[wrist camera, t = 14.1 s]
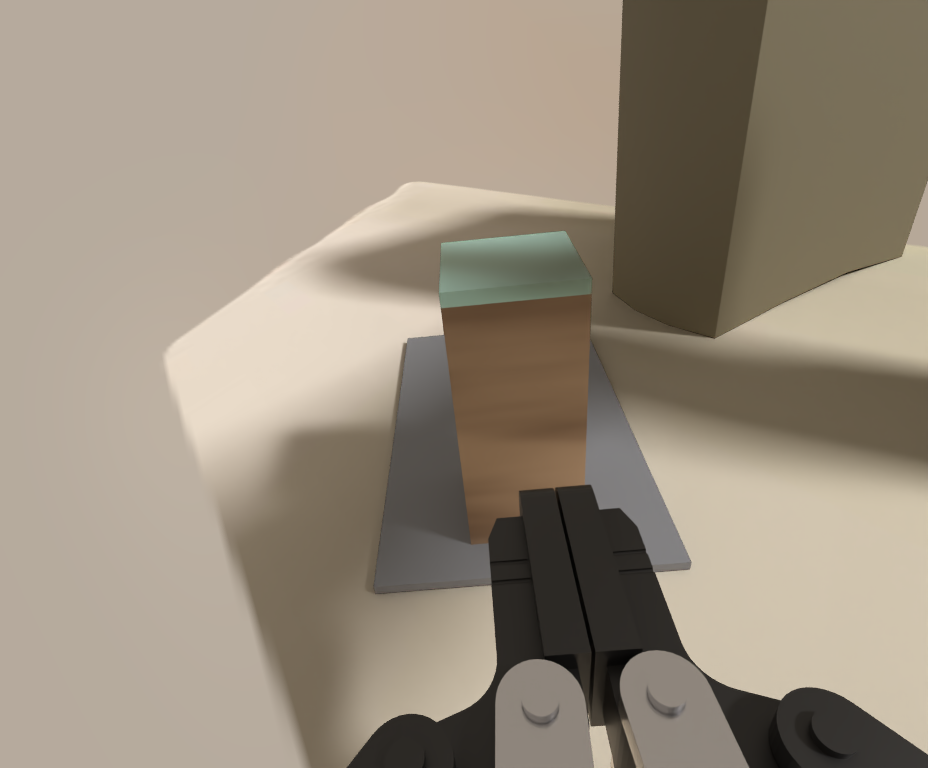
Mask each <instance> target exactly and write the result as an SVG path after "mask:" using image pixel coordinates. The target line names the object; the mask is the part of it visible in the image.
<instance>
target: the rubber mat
mask: <svg viewBox="0 0 928 768" xmlns="http://www.w3.org/2000/svg"><path fill="white" fill-rule="evenodd" d="M589 484H590V485H591V486H592V488H593V491H594V494H595V497H596V500H597V503H598V507H599V510H600V509H612V508H620V509H621V510H622V511H623V512H624V513H625V514H626V515H627V516H628V517H629V518H630V519H631V520H632V521H633V522H634V523H635V524H636V526H637V527H638V529H639V532H640V535H641V537H642V540H643V543H644V545H645V548H646V553H648V556H649V558H650V561H651V564H652V566H653V572H659V571H672V570H685V569H690V567H691V560H690V558H689V556H688V553H687V551H686V549H685V547H684V545H683V542H682V540H681V538H680V536H679V534H678V531H677V529H676V527H675V525H674V523H673V520H672V518H671V516H670V514H669V512H668V509H667V507H666V505H665V503H664V501H663V498H662V496H661V494H660V492H659V490H658V487H657V485H656V483H655V481H654V478H653V476H652V474H651V472H650V470H649V467H648V465H647V463H646V461H645V459H644V456H643V454H642V452H641V450H640V448H639V445H638V443H637V441H636V439H635V437H634V434H633V432H632V430H631V428H630V426H629V423H628V421H627V419H626V417H625V415H624V412H623V410H622V408H621V406H620V404H619V401H618V399H617V397H616V395H615V393H614V390H613V388H612V386H611V384H610V381H609V379H608V377H607V375H606V373H605V370H604V368H603V366H602V364H601V362H600V359H599V357H598V355H597V353H596V351H595V348H594V346H593V344H592V342H591V340H590V352H589V379H588V407H587V435H586V463H585V485H589ZM480 585H492V584H491V571H490V558H489V545H488V543H486V544H474V545H471V539H470V531H469V524H468V516H467V508H466V500H465V492H464V485H463V477H462V469H461V461H460V453H459V446H458V438H457V430H456V422H455V414H454V407H453V399H452V391H451V383H450V375H449V368H448V360H447V352H446V344H445V336H444V335H439V336H429V337H418V338H408V341H407V348H406V355H405V362H404V370H403V377H402V384H401V391H400V399H399V406H398V413H397V420H396V428H395V435H394V442H393V449H392V457H391V464H390V471H389V478H388V486H387V493H386V500H385V507H384V515H383V522H382V529H381V536H380V544H379V551H378V558H377V565H376V573H375V580H374V591H375V594H377V593H390V592H403V591H416V590H429V589H442V588H454V587H467V586H480Z"/></svg>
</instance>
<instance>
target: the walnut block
mask: <svg viewBox="0 0 928 768" xmlns="http://www.w3.org/2000/svg"><path fill="white" fill-rule="evenodd" d="M591 296H592V277H591V275H590V274H589V272H588V270H587V268H586V267H585V265H584V263H583V261H582V260H581V258H580V256H579V254H578V253H577V251H576V249H575V247H574V246H573V244H572V242H571V240H570V239H569V237H568V235H567V233H566V231H557V232H547V233H537V234H527V235H516V236H506V237H496V238H486V239H476V240H466V241H456V242H446V243H441V257H440V280H439V297H440V305H441V313H442V321H443V329H444V336H445V344H446V352H447V360H448V368H449V375H450V383H451V391H452V399H453V407H454V414H455V422H456V430H457V438H458V446H459V453H460V461H461V469H462V477H463V485H464V492H465V500H466V508H467V516H468V524H469V531H470V539H471V545H474V544H486V543H488V538H489V535H490V533H491V531H492V528H493V526H494V523H495V521H496V519H497V518H506V517H518V516H520V509H519V491H521V490H533V489H544V488H553V489H554V491H555V488H556V487H566V486H578V485H585V463H586V435H587V407H588V379H589V352H590V324H591Z"/></svg>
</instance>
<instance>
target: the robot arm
mask: <svg viewBox="0 0 928 768" xmlns="http://www.w3.org/2000/svg"><path fill="white" fill-rule="evenodd" d="M519 509H520V516H518V517H506V518H497V519H496V521H495V523H494V526H493V528H492V531H491V533H490V535H489V538H488V545H489V558H490V571H491V584H492V597H493V611H494V624H495V637H496V650H497V667H496V673H495V676H494V679H493V681H492V683H491V685H490V687H489V689H488V690H487V691H486V693H485V694H484V695H483V696H482V697H481V698H480V699H479V700H478V701H477V702H476V703H474V704H473V705H472V706H470V707H468V708H466V709H465V710H463V711H460V712H458V713H456V714H454V715H452V716H450V717H447V718H445V719H443V720H441V721H439V722H435V721H434V720H432V719H431V718H429V717H426V716H423V715H418V714H406V715H401V716H398V717H395V718H393V719H391V720H389V721H387V722H386V723H384V724H383V725H382V726H381V727H379V728H378V729H377V730H376V732H375V733H374V734H373V735H372V736H371V737H370V739H369V740H368V741H367V743H366V744H365V745H364V746H363V748H362V749H361V750H360V751H359V753H358V754H357V755H356V757H355V758H354V759H353V760H352V762H351V763H350V764H349V766H348V767H347V768H594V764H593V756H592V749H591V741H590V733H589V720H590V725H591V726H603V725H605V726H606V730H607V735H608V739H609V744H610V748H611V753H612V757H611V768H928V755H927V754H926V753H925V752H923V751H922V750H920V749H919V748H917V747H916V746H914V745H913V744H911V743H910V742H909V741H907V740H906V739H904V738H903V737H901V736H900V735H898V734H897V733H896V732H894V731H893V730H891V729H890V728H888V727H887V726H885V725H884V724H883V723H881V722H880V721H878V720H877V719H875V718H874V717H872V716H871V715H869V714H868V713H867V712H865V711H864V710H862V709H861V708H859V707H858V706H856V705H855V704H854V703H852V702H850V701H849V700H847V699H845V698H844V697H842V696H840V695H838V694H836V693H833V692H830V691H827V690H824V689H819V688H809V687H806V688H799V689H796V690H793V691H791V692H789V693H788V694H786V695H785V696H784V698H783V699H782V700H777V699H773V698H769V697H765V696H761V695H757V694H753V693H749V692H745V691H741V690H737V689H734V688H731V687H728V686H726V685H724V684H721V683H719V682H718V681H716V680H714V679H712V678H711V677H709V676H708V675H707V674H705V673H704V672H703V671H702V670H701V669H700V668H699V667H698V666H696V665H695V663H694V662H693V661H692V660H691V659H690V657H689V656H688V654H687V653H686V651H685V649H684V647H683V645H682V643H681V640H680V638H679V635H678V632H677V630H676V627H675V625H674V622H673V619H672V617H671V614H670V611H669V609H668V606H667V603H666V601H665V598H664V595H663V593H662V590H661V588H660V585H659V582H658V580H657V577H656V574H655V572H653V566H652V564H651V561H650V558H649V556H648V553H646V548H645V545H644V543H643V540H642V537H641V535H640V532H639V529H638V527H637V526H636V524H635V523H634V522H633V521H632V520H631V519H630V518H629V517H628V516H627V515H626V514H625V513H624V512H623V511H622V510H621V509H620V508H612V509H600V510H599V507H598V503H597V500H596V497H595V494H594V491H593V488H592V486H591V485H590V484H589V485H578V486H566V487H556V488H555V491H554V489H553V488H544V489H533V490H521V491H519ZM588 715H589V718H588Z"/></svg>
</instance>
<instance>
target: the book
mask: <svg viewBox="0 0 928 768" xmlns="http://www.w3.org/2000/svg"><path fill="white" fill-rule="evenodd" d="M618 124H619V125H618V151H617V179H616V206H615V234H614V262H613V290H612V293H614V294H615V295H616V296H617V297H619V298H620V299H621V300H623V301H624V302H625V303H626V304H628V305H629V306H630V307H632V308H633V309H634V310H636V311H639V312H641V313H643V314H645V315H647V316H649V317H652V318H654V319H656V320H658V321H660V322H663V323H665V324H667V325H670V326H673V327H677V328H681V329H684V330H688V331H691V332H695V333H698V334H702V335H705V336H709V337H712V338H716V337H718V336H720V335H722V334H724V333H726V332H728V331H730V330H732V329H733V328H735V327H737V326H739V325H741V324H743V323H745V322H747V321H749V320H750V319H752V318H754V317H756V316H758V315H760V314H762V313H764V312H766V311H768V310H769V309H771V308H773V307H775V306H777V305H779V304H781V303H783V302H785V301H787V300H789V299H791V298H793V297H796V296H798V295H800V294H802V293H804V292H806V291H808V290H811V289H813V288H815V287H817V286H819V285H821V284H823V283H826V282H828V281H830V280H832V279H834V278H836V277H838V276H841V275H843V274H845V273H847V272H850V271H853V270H857V269H860V268H863V267H867V266H870V265H874V264H877V263H881V262H884V261H888V260H891V259H895V258H898V257H902V254H903V251H904V248H905V245H906V242H907V239H908V237H909V234H910V231H911V228H912V225H913V222H914V219H915V216H916V213H917V210H918V207H919V204H920V202H921V199H922V196H923V193H924V190H925V187H926V184H927V181H928V0H623V13H622V39H621V67H620V96H619V123H618Z"/></svg>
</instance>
